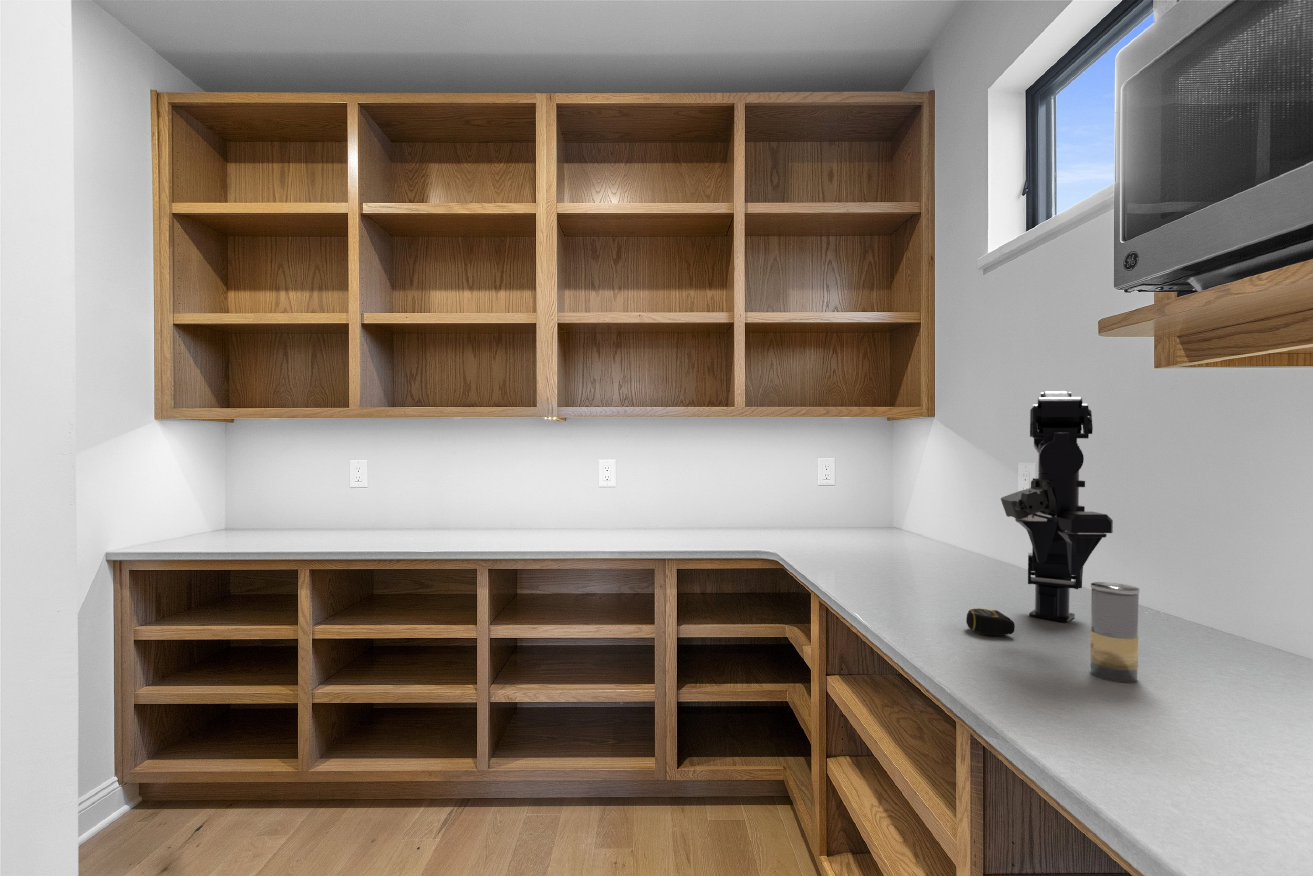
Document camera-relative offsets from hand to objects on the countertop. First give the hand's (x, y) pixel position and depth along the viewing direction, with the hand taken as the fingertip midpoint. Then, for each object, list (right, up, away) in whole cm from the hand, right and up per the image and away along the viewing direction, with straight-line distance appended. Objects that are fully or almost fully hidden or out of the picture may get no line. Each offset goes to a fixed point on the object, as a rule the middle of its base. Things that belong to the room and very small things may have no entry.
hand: (1056, 568), depth 109 cm
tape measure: (-6, -13, +8) cm, 17 cm away
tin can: (+1, -13, -13) cm, 18 cm away
